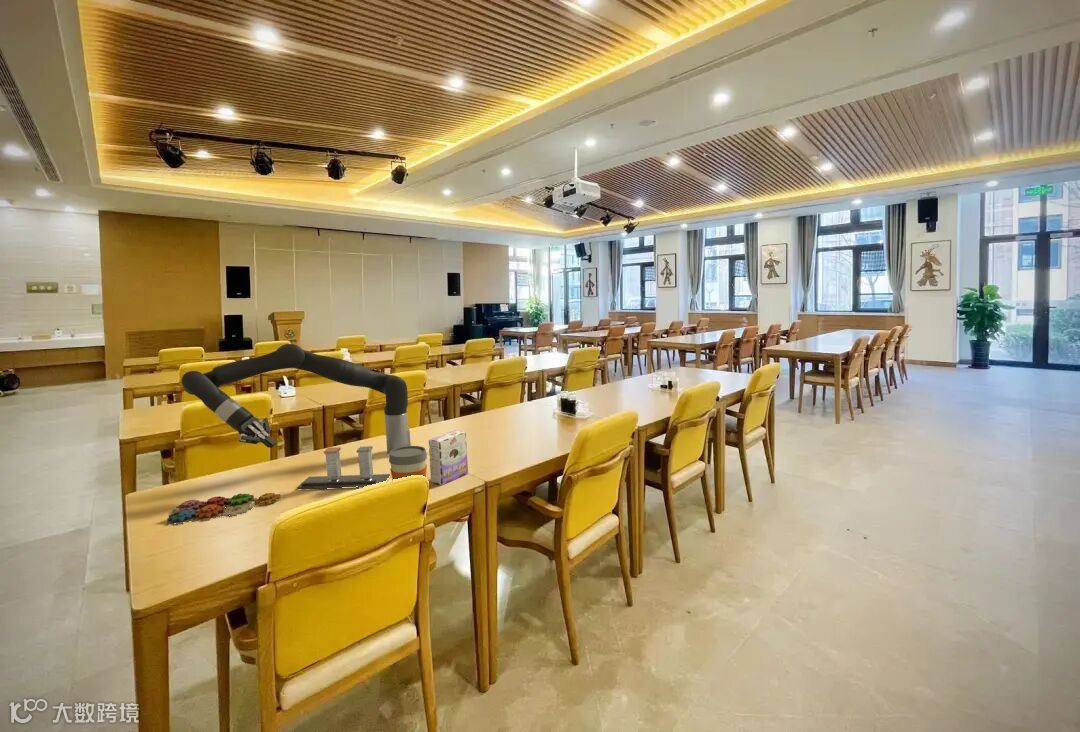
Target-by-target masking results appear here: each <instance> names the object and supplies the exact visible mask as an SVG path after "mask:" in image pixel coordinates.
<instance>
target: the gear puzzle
mask: <svg viewBox="0 0 1080 732" xmlns="http://www.w3.org/2000/svg"><path fill="white" fill-rule="evenodd" d="M280 499H282V497H281V494H279V493H277V494H275V492H268V493H267V492H266V493H263V494H261V495H260V496H258V498H257V497H255V495H254V494H250V493H238V494H234V495H232V497H225V496H220V495H218V496H214V497H210V498H207V501H204V500H203V501H202V500H201V501H200V500H197V499H188V500H186V501H183V502H181V504H180V505H177V506H175V507H174V508H173V509H172V511H171V513H172V514H169V515H168V517H167V518H166V520H167V522H166V524H172V525H176V526H179V525H178V524H182V525H183V524H184V523H183V522H186V523H189V521H192V522H197V521H199V520H200V521H201V522H202V521H203V522H208V521H211V520H212V519H211V518H213V519H217V518H216V517H219V518H221V517H220V516H226V517H228V518H233V517H232V516H236V517H237V516H238V515H237V514H240V515H243V514H242V513H245V514H247V513H248V511H252V510H253V509H254V506H253V505H252V503H253V502H254V505H256V506H257V505H259V506H264V505H270V504H272V503H276V502H277V501H278V500H280ZM252 501H253V502H252ZM251 505H252V506H251ZM225 507H226V508H225ZM252 508H253V509H252ZM251 509H252V510H251ZM246 512H247V513H246ZM229 515H230V516H229ZM193 520H194V521H193ZM174 523H176V524H174Z"/></svg>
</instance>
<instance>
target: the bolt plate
mask: <svg viewBox="0 0 1080 732" xmlns="http://www.w3.org/2000/svg"><path fill="white" fill-rule="evenodd" d="M373 449H374V446H373V445H372V446H371V445H369V446H360V447H358V449H357V450H356V453H357V454H358V465H359V466H358V467H359V468H358V470H359V474H355V475H353V474H351V475H341V477H340V478H339V479H338V480H328V477H327V475H325V476H324V475H322V476H321V475H319V476H308V477H307V478H306V479H305V480H304V481H302V482H301V483H299V485H297V486H296V489H321V490H328V489H327V488H342V487H356V486H358V487H356V488H355V489H360V488H359V487H364V486H367V485H372V484H376V483H379V482H383V481H386V480H387V478H389V476H390V477H391V473H383V474H382V473H381V474H379V473H378V474H377V473H376V474H374V467H373V454H372V453H373V452H372V450H373ZM389 479H390V478H389Z"/></svg>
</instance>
